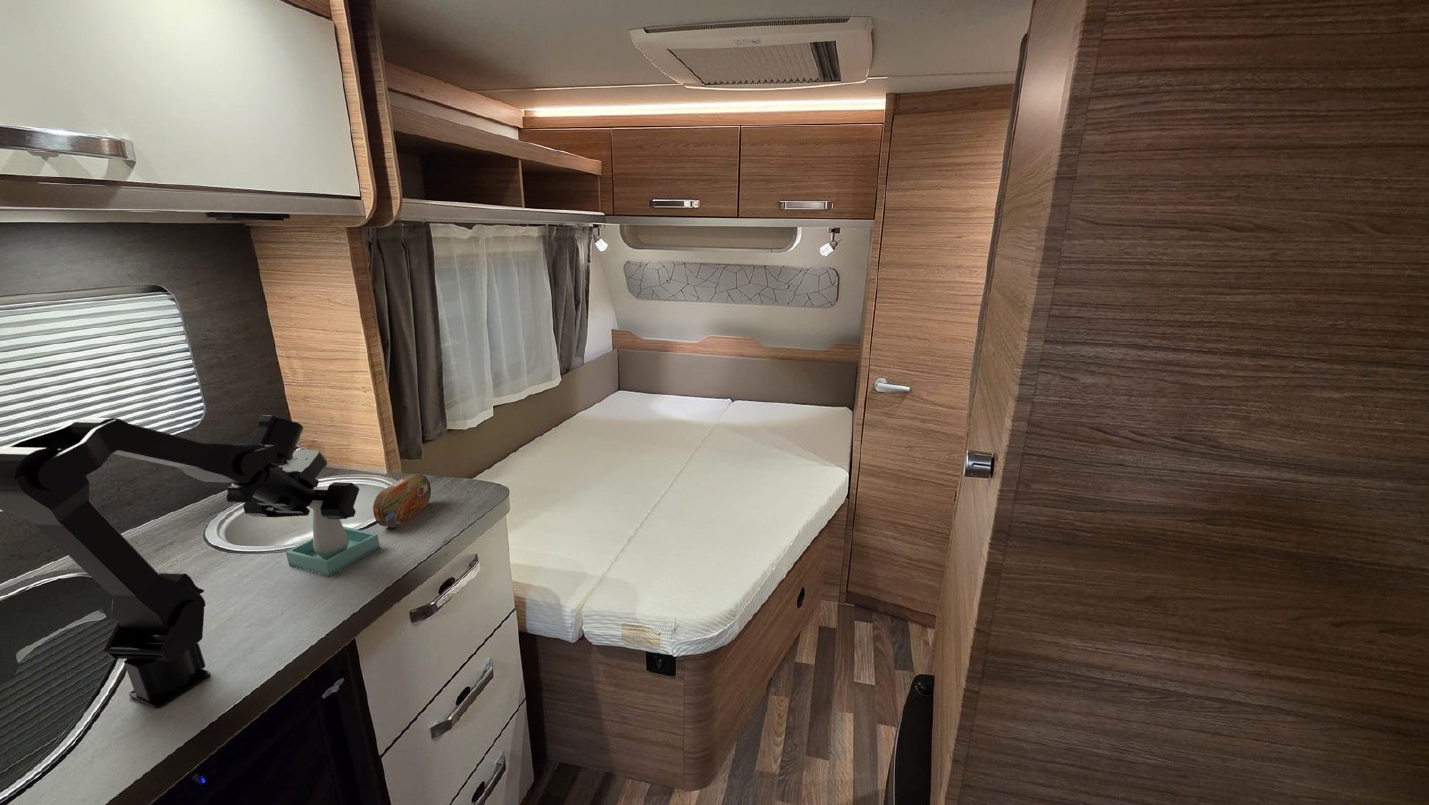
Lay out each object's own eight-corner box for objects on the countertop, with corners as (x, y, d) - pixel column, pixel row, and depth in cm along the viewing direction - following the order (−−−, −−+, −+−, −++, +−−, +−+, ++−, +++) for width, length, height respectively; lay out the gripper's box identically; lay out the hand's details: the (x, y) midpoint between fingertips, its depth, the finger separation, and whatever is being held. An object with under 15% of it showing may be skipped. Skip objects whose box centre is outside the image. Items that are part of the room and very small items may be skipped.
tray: (329, 576, 107) (326, 562, 106) (289, 565, 110) (285, 551, 109) (380, 547, 116) (377, 534, 115) (341, 538, 120) (338, 525, 119)
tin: (387, 534, 121) (380, 498, 119) (374, 533, 122) (367, 496, 119) (434, 502, 135) (429, 469, 133) (422, 501, 136) (416, 467, 134)
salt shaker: (333, 545, 116) (320, 485, 112) (358, 548, 115) (345, 488, 111) (308, 561, 111) (293, 499, 107) (334, 564, 109) (320, 501, 106)
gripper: (342, 442, 101) (390, 475, 115) (240, 440, 102) (300, 473, 116) (318, 504, 96) (372, 530, 110) (212, 501, 97) (278, 527, 111)
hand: (331, 513), depth 112 cm, fingers open, 9 cm apart
